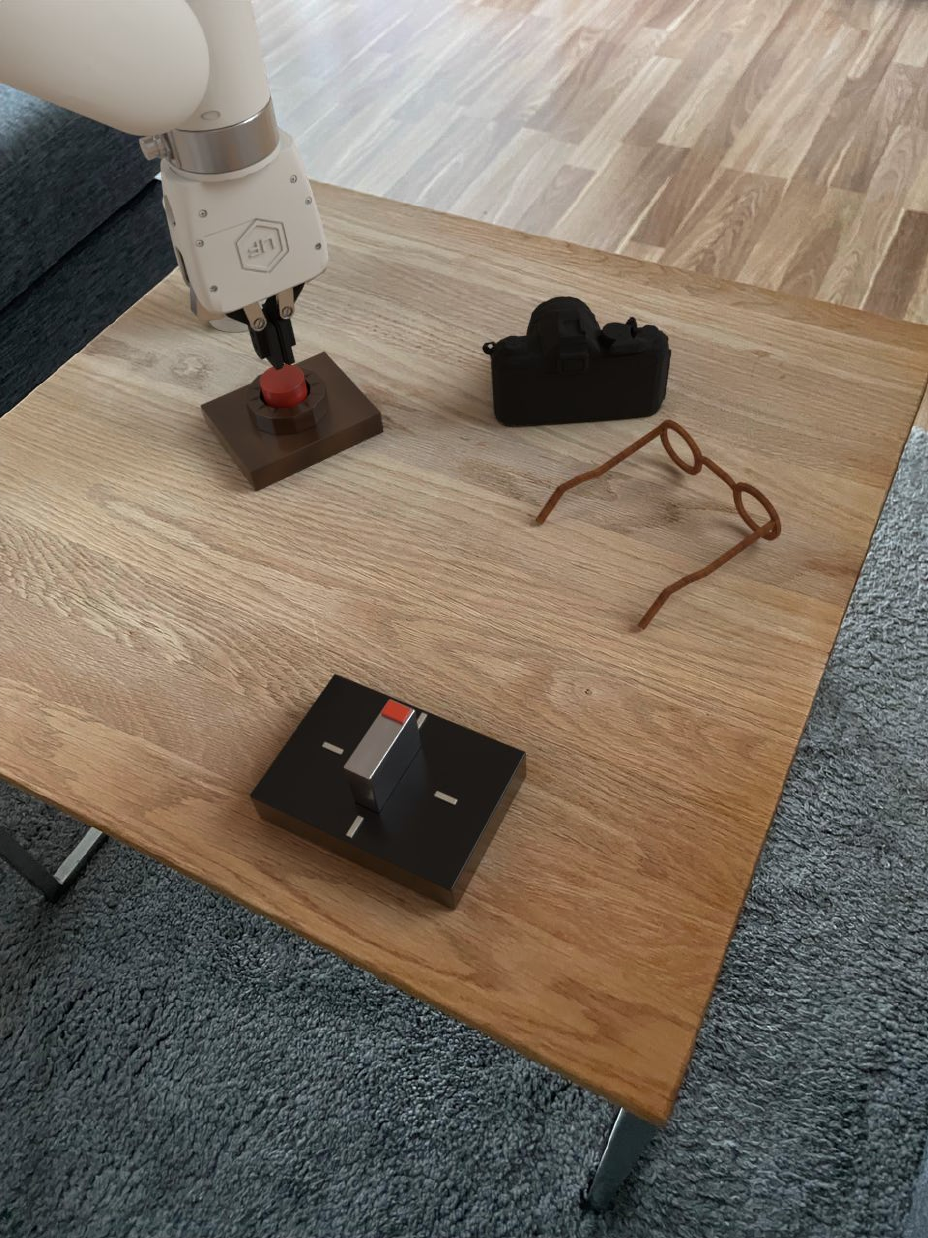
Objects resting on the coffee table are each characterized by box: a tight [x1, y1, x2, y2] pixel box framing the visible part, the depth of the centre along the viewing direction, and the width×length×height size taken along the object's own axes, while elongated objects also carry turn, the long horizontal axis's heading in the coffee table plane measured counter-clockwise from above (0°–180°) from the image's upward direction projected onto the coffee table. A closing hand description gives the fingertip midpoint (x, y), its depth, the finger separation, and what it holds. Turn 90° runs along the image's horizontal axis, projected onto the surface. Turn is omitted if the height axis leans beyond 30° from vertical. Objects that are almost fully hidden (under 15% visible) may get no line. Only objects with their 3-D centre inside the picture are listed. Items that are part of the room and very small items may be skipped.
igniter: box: [199, 351, 384, 492], centre depth 85 cm, size 12×10×4 cm
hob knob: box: [344, 699, 421, 813], centre depth 61 cm, size 5×2×4 cm, turn 152°
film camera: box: [481, 295, 672, 427], centre depth 84 cm, size 15×10×9 cm, turn 92°
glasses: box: [534, 419, 782, 631], centre depth 75 cm, size 13×13×5 cm
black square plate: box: [249, 673, 527, 911], centre depth 64 cm, size 14×10×3 cm
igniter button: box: [260, 363, 307, 409], centre depth 83 cm, size 4×4×2 cm
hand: (277, 357), depth 81 cm, fingers closed
